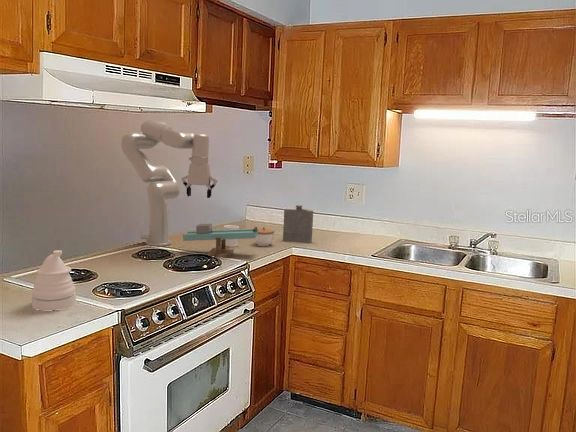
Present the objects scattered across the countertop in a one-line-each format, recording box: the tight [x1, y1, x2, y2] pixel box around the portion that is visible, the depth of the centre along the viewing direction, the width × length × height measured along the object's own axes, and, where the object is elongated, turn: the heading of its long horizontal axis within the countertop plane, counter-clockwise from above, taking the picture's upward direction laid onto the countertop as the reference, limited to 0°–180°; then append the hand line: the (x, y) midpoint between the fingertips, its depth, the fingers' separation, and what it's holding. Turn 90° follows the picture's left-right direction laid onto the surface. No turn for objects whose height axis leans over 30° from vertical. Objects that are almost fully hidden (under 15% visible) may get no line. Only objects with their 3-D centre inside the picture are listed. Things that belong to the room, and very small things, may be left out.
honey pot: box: [31, 249, 77, 310], centre depth 165 cm, size 13×13×18 cm
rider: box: [195, 223, 213, 234], centre depth 243 cm, size 6×6×4 cm
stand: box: [206, 237, 235, 259], centre depth 243 cm, size 10×13×9 cm
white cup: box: [223, 224, 240, 248], centre depth 263 cm, size 8×8×10 cm
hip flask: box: [282, 204, 314, 244], centre depth 279 cm, size 16×4×20 cm, turn 80°
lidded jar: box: [253, 226, 275, 247], centre depth 268 cm, size 11×11×9 cm
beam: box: [182, 226, 259, 242], centre depth 243 cm, size 34×10×5 cm, turn 85°
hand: (198, 196), depth 243 cm, fingers open, 9 cm apart
